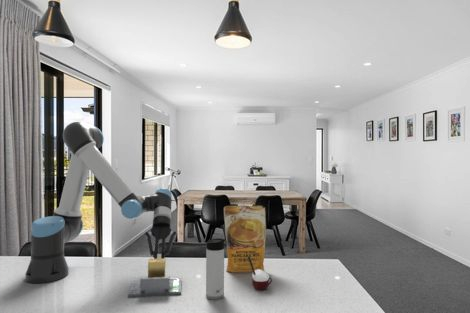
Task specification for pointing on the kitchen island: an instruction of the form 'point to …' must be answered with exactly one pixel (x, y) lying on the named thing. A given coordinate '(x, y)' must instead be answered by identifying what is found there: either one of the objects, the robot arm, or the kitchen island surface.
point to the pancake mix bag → (245, 237)
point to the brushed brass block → (157, 268)
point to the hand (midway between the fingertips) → (158, 271)
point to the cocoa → (259, 278)
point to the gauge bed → (155, 287)
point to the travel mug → (215, 269)
